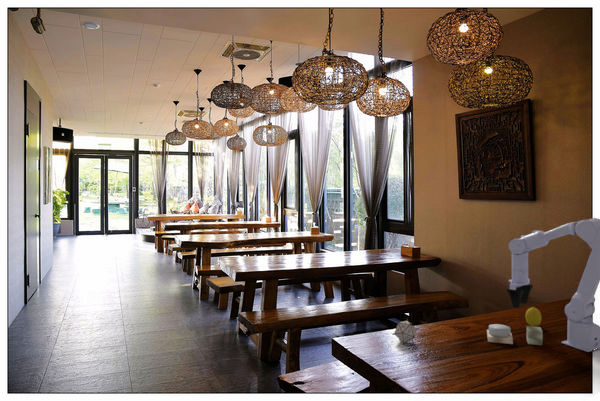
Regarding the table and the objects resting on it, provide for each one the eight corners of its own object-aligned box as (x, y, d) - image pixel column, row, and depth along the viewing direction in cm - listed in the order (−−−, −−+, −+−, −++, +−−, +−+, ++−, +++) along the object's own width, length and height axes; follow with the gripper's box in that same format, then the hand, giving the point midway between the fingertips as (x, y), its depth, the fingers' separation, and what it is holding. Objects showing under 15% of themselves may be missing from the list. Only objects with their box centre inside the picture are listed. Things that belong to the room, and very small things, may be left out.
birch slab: (510, 338, 164) (510, 331, 164) (512, 345, 156) (512, 338, 156) (486, 336, 166) (486, 329, 166) (488, 343, 159) (488, 336, 159)
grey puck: (509, 332, 163) (509, 325, 163) (511, 338, 157) (511, 331, 156) (488, 329, 166) (488, 323, 166) (489, 336, 159) (489, 329, 159)
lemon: (544, 329, 171) (544, 308, 170) (529, 329, 171) (529, 309, 170) (536, 324, 176) (537, 304, 176) (522, 325, 176) (522, 305, 176)
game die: (401, 353, 159) (384, 332, 158) (406, 338, 166) (390, 317, 165) (421, 346, 154) (404, 324, 153) (426, 330, 160) (409, 309, 160)
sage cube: (540, 341, 159) (540, 327, 159) (542, 345, 155) (542, 331, 154) (526, 339, 160) (526, 326, 160) (528, 344, 156) (528, 330, 156)
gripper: (516, 265, 177) (516, 299, 178) (501, 271, 167) (501, 307, 168) (535, 268, 172) (535, 302, 173) (520, 273, 162) (521, 310, 163)
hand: (520, 305), depth 170 cm, fingers open, 7 cm apart
